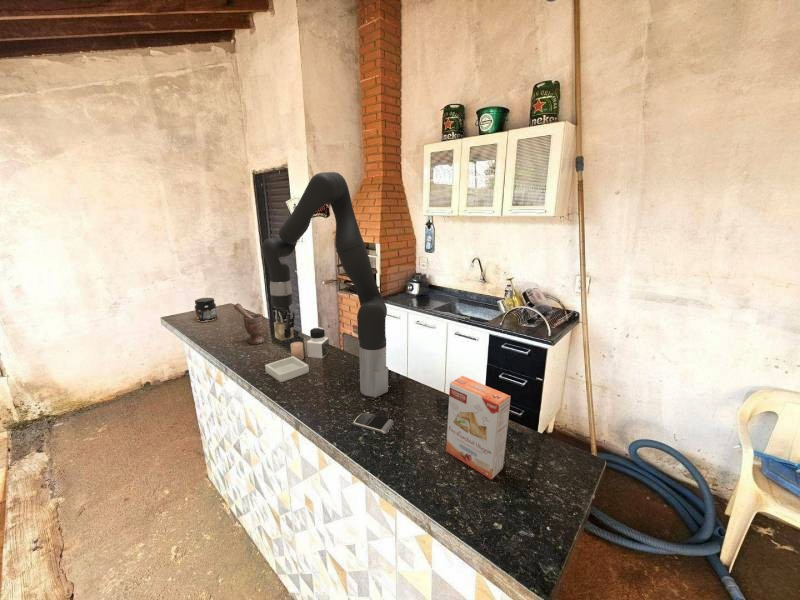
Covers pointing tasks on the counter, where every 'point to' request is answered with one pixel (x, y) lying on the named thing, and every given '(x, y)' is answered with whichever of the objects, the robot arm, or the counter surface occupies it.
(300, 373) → the white tray
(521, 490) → the counter surface
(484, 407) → the cracker box
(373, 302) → the robot arm
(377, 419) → the cell phone
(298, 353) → the peach rounded capsule
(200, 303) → the supplement container
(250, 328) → the mortar and pestle
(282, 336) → the maple block
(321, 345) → the medicine bottle
